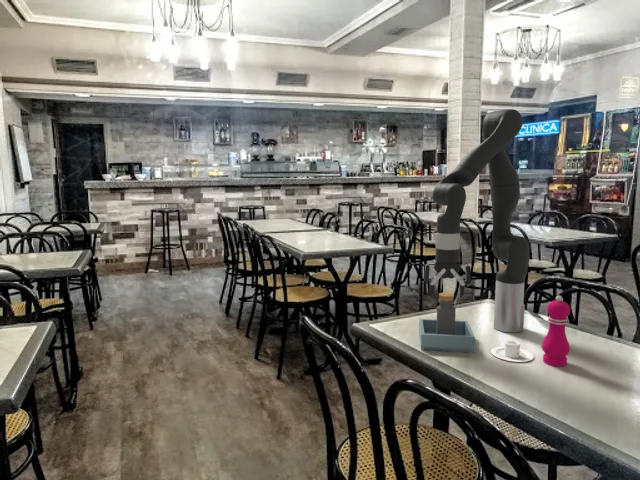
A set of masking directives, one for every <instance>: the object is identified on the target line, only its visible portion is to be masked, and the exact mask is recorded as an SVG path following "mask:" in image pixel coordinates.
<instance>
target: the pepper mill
mask: <svg viewBox="0 0 640 480" xmlns="http://www.w3.org/2000/svg"><path fill="white" fill-rule="evenodd" d="M546 312H547V314H548V317H547V318H548V319H547V321H548V323H549V325H548V331H547V333H546V335H545V336H544V339H543V341H542V343H541V344H542V345H541V349H542V352H543V355H542V361H543V362H544V363H545V364H546V365H549V366H553V367H565V366H566V365H567V364H568V358H567V355H569V353H570V351H571V350H570V343H569V341H568V337H567V336H566V335H567V333H566V325H567V324H568V316H569V315H570V314H571V308H570V305H569V304H568V303H567V302H565V301H563V296H561V295H557V296H556V297H555V300H552V301H549V303H548V304H547V306H546Z"/></svg>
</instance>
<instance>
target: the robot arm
mask: <svg viewBox="0 0 640 480" xmlns="http://www.w3.org/2000/svg"><path fill="white" fill-rule="evenodd" d="M523 122H524V121H523V116H522V114H521V113H520V112H519V111H518V110H516V109H513V108H509V109H500V110H494V111H490V112H488V113H487V114H486V115H485V116H484V118H483V122H482V133H483V139H484V140H483V142H481V143H480V144H478V145H477V146H476V147H474V148H473V149H471V150H470V151H469V152H468V153H467V154H465V156H464V157H463V158H462V159H461V160H460V162H459V163H458V164H457V166H455V168H454V169H453V170H452V171H451V172H450V173H448V174H447V175H446V176H445V177H443V178H442V179H441V180H440V181H439V182H437V184H436V185H435V187H434V188H433V191H432V199H433V202H434V203H436V205H439V206H446V207H445V208H446V209H445V212H444V213H440V214H438V216H437V217H436V236H435V263H434V264H429V263H425V265H424V277H423V278H424V279H423V280H424V283H425V284H428V285H429V295H430V296H432V297H436V295H435V294H436V293H435V292H436V291H435V289H436V285H435V284H436V283H437V282H438V281H439V279H440V278H441V279H451V280H453V279H454V278H455V279H456V280H457V282H458V283H459V284H458V285H459V286H458V296H459V298H463V296H465V286H466V285H470V284H471V283H472V278H471V266H470V265H469V264H467V263H466V264H465V265H464V264H461V234H460V233H461V229H460V228H461V219H462V214H463V212H464V207H465V205H466V200H467V193H466V189H465V187H469V186H470V185H472V184H473V182H474V181H475V180H476V179H477V178H478V176H479V175H480V174H481V172H483V170H484V168H485V167H486V166H487V165H488V171H489V172H488V173H489V189H490V190H489V191H490V198H491V210H492V212H491V213H492V237H491V238H492V239H491V245H492V246H491V247H492V252H493V256H494V258H497V259H498V260H501V261H504V262H507V263H506V267H505V269H502V270H499V271H497V272H496V275H495V293H494V295H495V296H494V312H493V313H494V314H493V329H495V330H497V331H499V332H504V333H519V332H522V333H523V332H524V328H525V327H524V325H525V323H524V322H525V310H526V307H525V306H526V304H525V303H524V297H525V296H524V295H525V280H526V279H525V278H526V276H527V274H528V271H529V270H528V268H529V263H530V262H529V260H530V253H531V252H530V243H529V241H528V239H527V238H525V237H524V236H520V235H514V234H512V230H511V220H512V216H513V213H514V211H515V210H516V208H517V206H518V203H519V201H520V197H521V187H520V186H521V185H520V178H519V174H518V172H517V170H516V168H515V167H514V165H513V164H512V162H511V161H510V159H509V157H508V155H507V151H506V149H505V147H506V146H507V145H508V144H509V143H510V142H511V141H512V140H514V139H515V137H517V135H518V134H519V133H520V132H521V130H522V128H523ZM433 269H434V271H435V274H434V275H433V277H432V278H431V279H430V272H432V270H433ZM462 270H463V272H464V273H465V280H464V279H463V278H462V277H461V276H460V275H459V273H460V271H462Z"/></svg>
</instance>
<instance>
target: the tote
mask: <svg viewBox="0 0 640 480" xmlns="http://www.w3.org/2000/svg"><path fill="white" fill-rule="evenodd" d="M418 324H419V325H418V334H419V335H418V336H419V344H420V350H421V351H435V352H436V351H437V352H439V351H440V352H453V353H472V354H474V353H475V344H476V343H475V341H476V338H475V337H476V336H475V335H474V332H473V330H472V327H471V326H470V323H469V321H468V320H457V319H455V335H443V334H436V328H437V318H436V319H435V318H434V319H433V318H432V319H430V318H419V322H418Z"/></svg>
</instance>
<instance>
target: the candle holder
mask: <svg viewBox="0 0 640 480" xmlns="http://www.w3.org/2000/svg"><path fill="white" fill-rule="evenodd" d="M520 343H521V342H519V341H517V340H506V341H505V342H504V346H503V345H502V346H495V347H493V348H491V350H490V353H491V354H492V355H493V356H495V357H496V358H498V359H501V360H504V361H506V362H507V361H509V362H515V363H525V362H530V361H533V359H535V358H534V357H535V356H534V354H532V352H530V351H528V350H527V349H524V348H521V344H520ZM503 350H504V356H506V357H507V358H506V357H503V356H500V355H499V354H498V352H499V351H503ZM520 353H522V354H524V355H526V358H524V359H517V358H520Z"/></svg>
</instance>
